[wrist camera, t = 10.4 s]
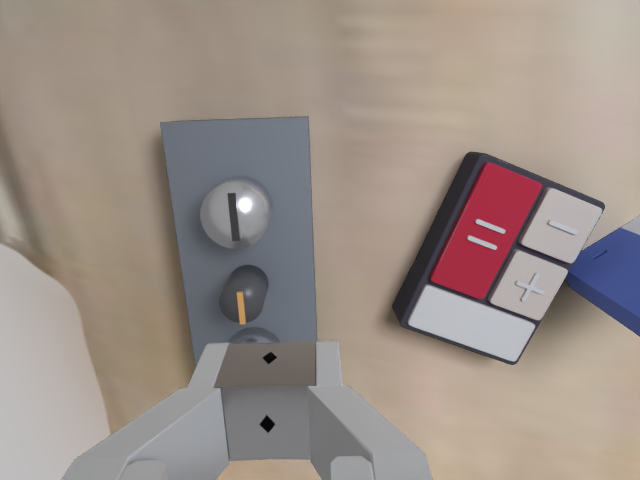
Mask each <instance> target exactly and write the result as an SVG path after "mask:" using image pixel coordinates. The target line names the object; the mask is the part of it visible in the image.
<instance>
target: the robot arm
mask: <svg viewBox="0 0 640 480" xmlns="http://www.w3.org/2000/svg"><path fill="white" fill-rule="evenodd" d="M262 459H311V463H312V464H313V466H314V468H315V469H316V471H317V472H318V474H319V476H320V477H321V479H322V480H433V478H432V474H431V471H430V468H429V464H428V461H427V458H426V454H425V453H424V452H423V451H422V450H421V449H420V448H419V447H418V446H416V445H415V444H414V443H413V442H412V441H411V440H410V439H409V438H407V437H406V436H405V435H404V434H403V433H402V432H401V431H400V430H399V429H397V428H396V427H395V426H394V425H393V424H392V423H391V422H390V421H388V420H387V419H386V418H385V417H384V416H383V415H382V414H381V413H380V412H378V411H377V410H376V409H375V408H374V407H373V406H372V405H371V404H370V403H368V402H367V401H366V400H365V399H364V398H363V397H362V396H361V395H359V394H358V393H357V392H356V391H355V390H354V389H353V388H352V387H351V386H349V385H343V383H342V372H341V361H340V349H339V342H338V340H330V341H315V342H292V343H229V342H226V343H209V344H207V345H206V346H205V348H204V350H203V353H202V355H201V357H200V359H199V361H198V364H197V366H196V368H195V370H194V372H193V375H192V377H191V379H190V381H189V384H188V386H187V388H184V389H178V390H177V391H175V392H174V393H172V394H171V395H169V396H168V397H167V398H165V399H164V400H162V401H161V402H159V403H158V404H156V405H155V406H153V407H152V408H150V409H149V410H147V411H146V412H144V413H143V414H141V415H140V416H138V417H137V418H135V419H134V420H132V421H131V422H129V423H128V424H126V425H125V426H123V427H122V428H121V429H119V430H118V431H116V432H115V433H113V434H112V435H110V436H109V437H107V438H106V439H104V440H103V441H101V442H100V443H98V444H97V445H96V446H94V447H92V448H91V449H89V450H88V451H86V452H85V453H83V454H82V455H80V456H79V457H78V458H76V459H75V460H74V461H73V463H72V464H71V466H70V467H69V469H68V470H67V472H66V473H65V475H64V476H63V477H62V479H61V480H216V479H217V477H218V476H219V475H220V474H221V473H222V472H223V470H224V469H225V468H226V467H227V466H228V464H229V461H242V460H262Z"/></svg>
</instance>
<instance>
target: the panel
mask: <svg viewBox="0 0 640 480" xmlns="http://www.w3.org/2000/svg"><path fill="white" fill-rule="evenodd" d="M160 125H161V132H162V139H163V146H164V153H165V160H166V167H167V174H168V180H169V187H170V194H171V201H172V208H173V215H174V222H175V229H176V236H177V243H178V250H179V256H180V263H181V270H182V277H183V284H184V291H185V298H186V305H187V312H188V319H189V326H190V332H191V339H192V346H193V353H194V360H195V367H196V366H197V364H198V361H199V359H200V357H201V355H202V353H203V350H204V348H205V346H206V345H207V344H209V343H226V342H230V340H231V338H232V337H233V336H234V335H235V334H236V333H237V332H238V331H240V330H242V329H245V328H249V327H259V328H263V329H266V330H268V331H270V332H272V333H273V334H274V335H275V336H276V337H277V338H278V339H279V341H280V343H292V342H315V341H317V321H316V295H315V269H314V243H313V217H312V191H311V166H310V140H309V116H307V117H277V118H248V119H218V120H188V121H171V122H160ZM235 176H245V177H249V178H252V179H254V180H256V181H258V182H259V183H261V184H262V185H263V186H264V187H265V188H266V190H267V191H268V193H269V195H270V197H271V200H272V215H271V218H270V220H269V223H268V225H267V228H266V230H265V232H264V234H263V236H262V237H261V238H260V239H259V240H258V241H257V242H256V243H254V244H253V245H251V246H249V247H246V248H241V249H231V248H226V247H223V246H221V245H219V244H217V243H216V242H214V241H213V240H212V239H211V238H210V237H209V236H208V235H207V234H206V232H205V230H204V228H203V226H202V223H201V219H200V210H201V205H202V203H203V200H204V199H205V197H206V196H207V194H208V193H209V192H210V191H212V190H213V189H214V188H215V187H217V186H218V185H219V184H220V183H222V182H223V181H224V180H226V179H228V178H231V177H235ZM243 265H253V266H256V267H258V268H260V269H261V270H263V271H264V273H265V274H266V276H267V278H268V282H269V285H268V290H267V294H266V297H265V301H264V305H263V309H262V312H261V314H260V315H259V316H258V317H257V318H256V319H255V320H253V321H251V322H248V323H246V324H240V323H237V322H233V321H231V320H229V319H228V318H227V317H225V315H224V314H223V313H222V311H221V309H220V306H219V299H220V296H221V293H222V291H223V290H224V288H225V286H226V284H227V282H228V280H229V278H230V276H231V274H232V272H233V271H234V270H235V269H236V268H238V267H240V266H243Z"/></svg>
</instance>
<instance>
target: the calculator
mask: <svg viewBox="0 0 640 480" xmlns="http://www.w3.org/2000/svg"><path fill="white" fill-rule="evenodd" d="M604 209H605V205H604V203H603V202H601V201H599V200H596V199H594V198H591V197H589V196H587V195H584V194H582V193H579V192H577V191H575V190H572V189H570V188H567V187H565V186H563V185H560V184H558V183H555V182H553V181H551V180H548V179H546V178H543V177H541V176H539V175H536V174H534V173H531V172H529V171H527V170H524V169H522V168H520V167H517V166H515V165H512V164H510V163H508V162H505V161H503V160H500V159H498V158H496V157H493V156H491V155H488V154H485V153H478V152H469V153H467V154H466V156H465V158H464V160H463V162H462V164H461V166H460V168H459V170H458V172H457V174H456V176H455V178H454V180H453V182H452V184H451V187H450V189H449V191H448V193H447V195H446V197H445V199H444V201H443V203H442V205H441V207H440V209H439V212H438V214H437V216H436V218H435V220H434V222H433V224H432V227H431V229H430V231H429V233H428V235H427V237H426V239H425V242H424V244H423V246H422V248H421V250H420V252H419V254H418V256H417V259H416V261H415V263H414V265H413V266H412V267H411V269H410V270H409V272H408V274H407V276H406V278H405V281H404V283H403V285H402V287H401V289H400V291H399V293H398V295H397V297H396V299H395V301H394V303H393V306H392V307H393V310H394V312H395V314H396V316H397V318H398V320H399V322H400V324H401V326H402V327H404V328H407V329H410V330H413V331H416V332H418V333H421V334H424V335H427V336H430V337H433V338H436V339H439V340H441V341H444V342H447V343H450V344H453V345H456V346H459V347H461V348H464V349H467V350H470V351H473V352H476V353H479V354H482V355H484V356H487V357H490V358H493V359H496V360H499V361H502V362H504V363H507V364H511V365H514V364H516V363H517V362H518V360H519V359H520V357H521V355H522V353H523V352H524V350H525V348H526V346H527V345H528V343H529V341H530V339H531V338H532V336H533V334H534V332H535V330H536V329H537V327H538V325H539V323H540V322H541V320H542V318H543V316H544V315H545V313H546V311H547V309H548V308H549V306H550V304H551V302H552V301H553V299H554V297H555V295H556V294H557V292H558V290H559V288H560V287H561V285H562V283H563V281H564V279H565V278H566V276H567V274H568V272H569V271H570V269H571V267H572V265H573V264H574V262H575V260H576V258H577V257H578V255H579V253H580V251H581V250H582V248H583V246H584V244H585V243H586V241H587V239H588V237H589V236H590V234H591V232H592V230H593V228H594V227H595V225H596V223H597V221H598V220H599V218H600V216H601V214H602V213H603V211H604Z"/></svg>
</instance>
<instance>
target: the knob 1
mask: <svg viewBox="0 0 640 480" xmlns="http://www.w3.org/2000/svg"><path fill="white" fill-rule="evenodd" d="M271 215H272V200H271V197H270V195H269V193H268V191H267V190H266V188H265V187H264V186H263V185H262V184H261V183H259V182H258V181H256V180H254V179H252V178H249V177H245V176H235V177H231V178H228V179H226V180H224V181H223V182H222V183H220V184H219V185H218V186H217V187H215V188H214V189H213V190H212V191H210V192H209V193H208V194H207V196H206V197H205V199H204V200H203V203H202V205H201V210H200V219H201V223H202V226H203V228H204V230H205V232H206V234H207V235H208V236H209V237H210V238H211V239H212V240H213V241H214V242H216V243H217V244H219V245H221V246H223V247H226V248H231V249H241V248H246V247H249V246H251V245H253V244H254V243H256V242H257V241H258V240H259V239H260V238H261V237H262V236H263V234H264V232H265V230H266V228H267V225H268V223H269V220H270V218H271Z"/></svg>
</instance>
